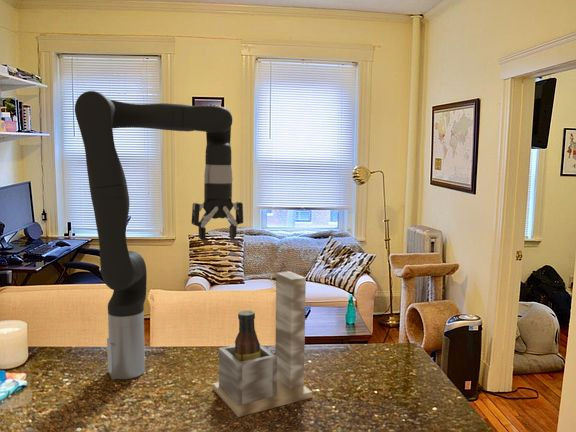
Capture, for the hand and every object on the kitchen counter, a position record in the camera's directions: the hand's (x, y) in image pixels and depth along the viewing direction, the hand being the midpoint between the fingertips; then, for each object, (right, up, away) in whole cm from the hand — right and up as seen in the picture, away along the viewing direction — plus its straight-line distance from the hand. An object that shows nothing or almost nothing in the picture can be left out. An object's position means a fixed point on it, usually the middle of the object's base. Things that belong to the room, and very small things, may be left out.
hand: (217, 239), depth 139 cm
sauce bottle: (+10, -37, -14) cm, 41 cm away
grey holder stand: (+13, -38, -13) cm, 42 cm away
